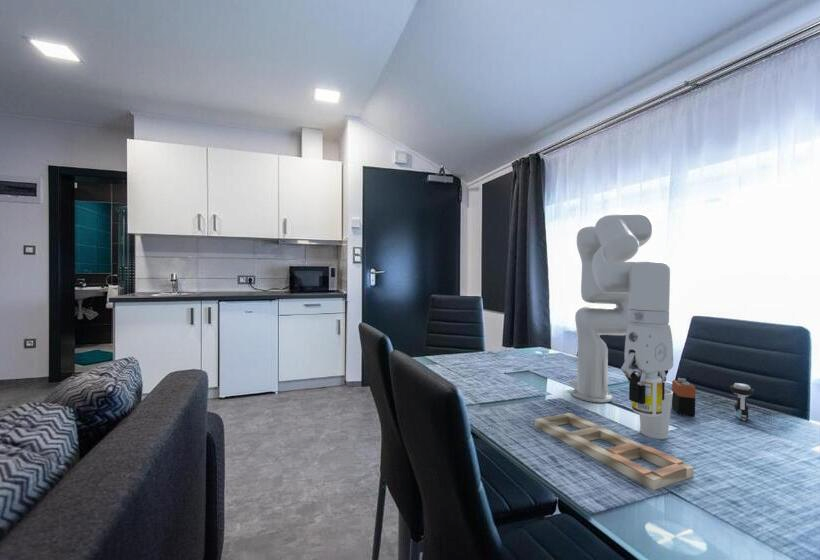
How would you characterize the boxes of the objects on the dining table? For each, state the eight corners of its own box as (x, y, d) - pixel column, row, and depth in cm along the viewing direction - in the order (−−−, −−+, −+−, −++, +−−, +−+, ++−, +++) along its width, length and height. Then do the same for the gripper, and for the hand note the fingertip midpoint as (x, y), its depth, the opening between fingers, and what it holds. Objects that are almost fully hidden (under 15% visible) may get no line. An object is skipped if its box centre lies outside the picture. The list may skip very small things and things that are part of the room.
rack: (534, 426, 102) (535, 418, 102) (569, 419, 108) (569, 411, 108) (653, 490, 72) (653, 478, 72) (693, 476, 77) (693, 465, 77)
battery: (687, 409, 117) (688, 378, 117) (695, 416, 111) (696, 384, 111) (671, 407, 119) (671, 376, 118) (678, 414, 112) (679, 382, 112)
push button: (756, 424, 106) (757, 389, 105) (732, 419, 109) (732, 386, 108) (751, 416, 111) (751, 384, 111) (728, 412, 114) (728, 381, 114)
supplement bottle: (653, 409, 82) (654, 364, 82) (667, 418, 77) (668, 370, 77) (627, 407, 83) (628, 363, 83) (638, 417, 78) (639, 369, 78)
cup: (661, 442, 93) (662, 396, 93) (630, 430, 100) (630, 387, 100) (678, 436, 97) (679, 391, 96) (647, 425, 104) (647, 383, 103)
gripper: (638, 321, 73) (637, 411, 73) (691, 318, 80) (689, 400, 80) (605, 317, 80) (603, 399, 80) (656, 315, 87) (654, 390, 87)
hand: (646, 399), depth 80 cm, fingers closed on supplement bottle, 5 cm apart
